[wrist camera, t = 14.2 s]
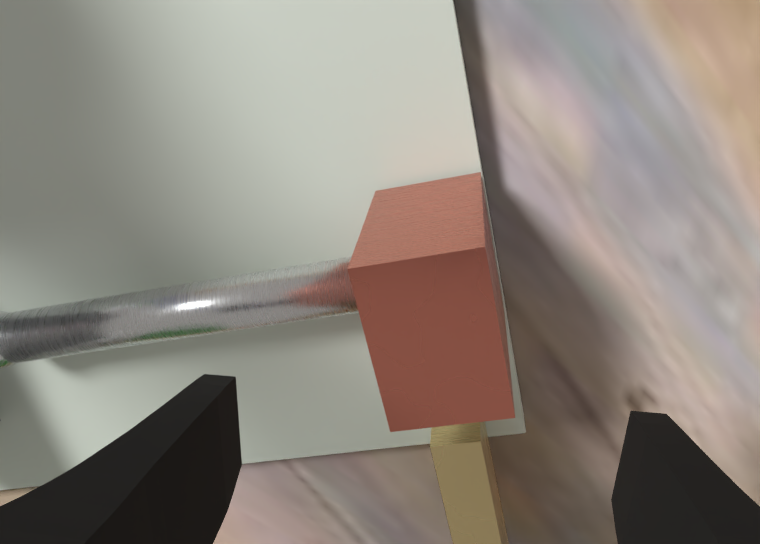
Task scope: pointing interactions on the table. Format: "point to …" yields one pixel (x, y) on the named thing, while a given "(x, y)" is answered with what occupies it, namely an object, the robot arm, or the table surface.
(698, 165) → the table surface
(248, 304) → the mallet
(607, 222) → the table surface
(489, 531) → the keeper bar
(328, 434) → the board
